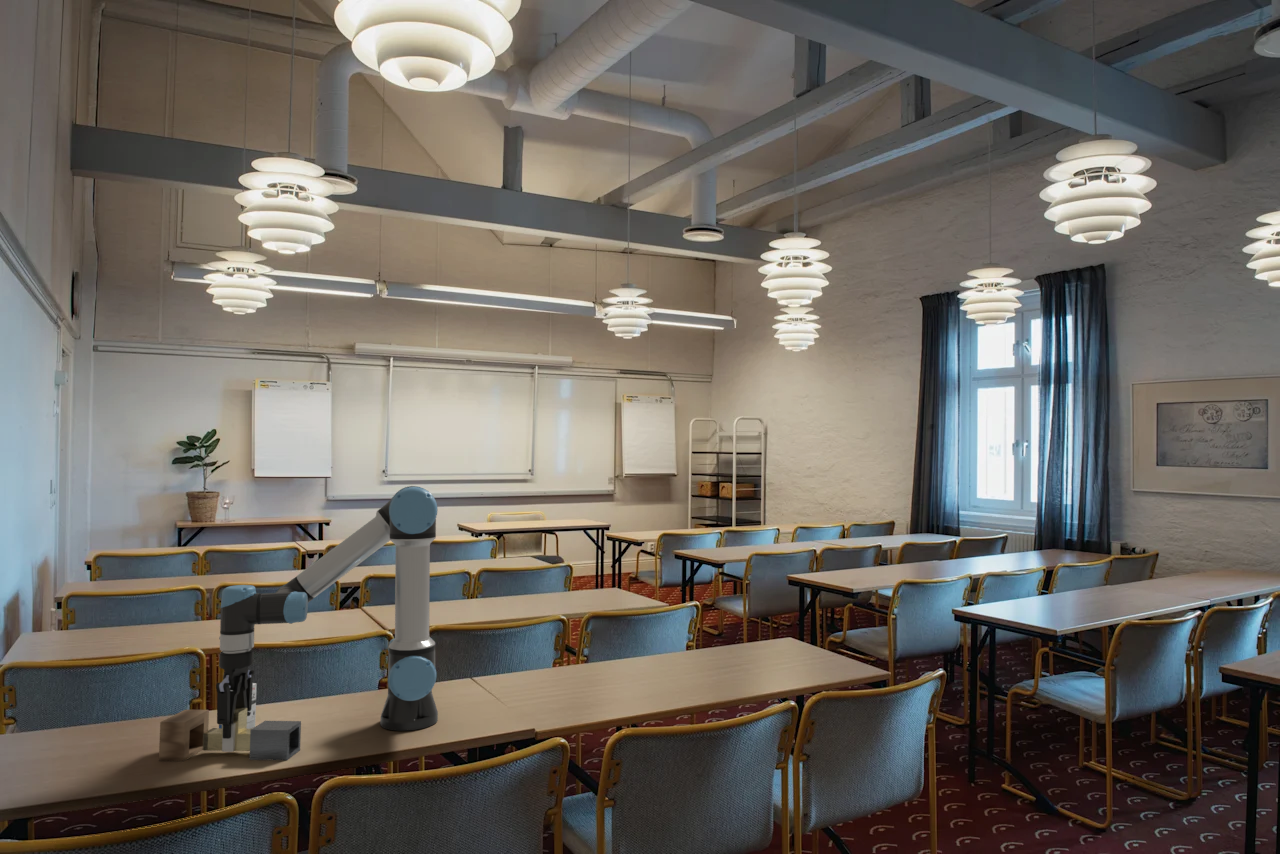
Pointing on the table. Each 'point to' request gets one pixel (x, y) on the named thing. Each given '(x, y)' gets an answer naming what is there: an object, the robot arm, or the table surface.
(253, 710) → the ink box
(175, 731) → the socket
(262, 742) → the sleeve
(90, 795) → the table surface
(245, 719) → the l-shaped notched block
